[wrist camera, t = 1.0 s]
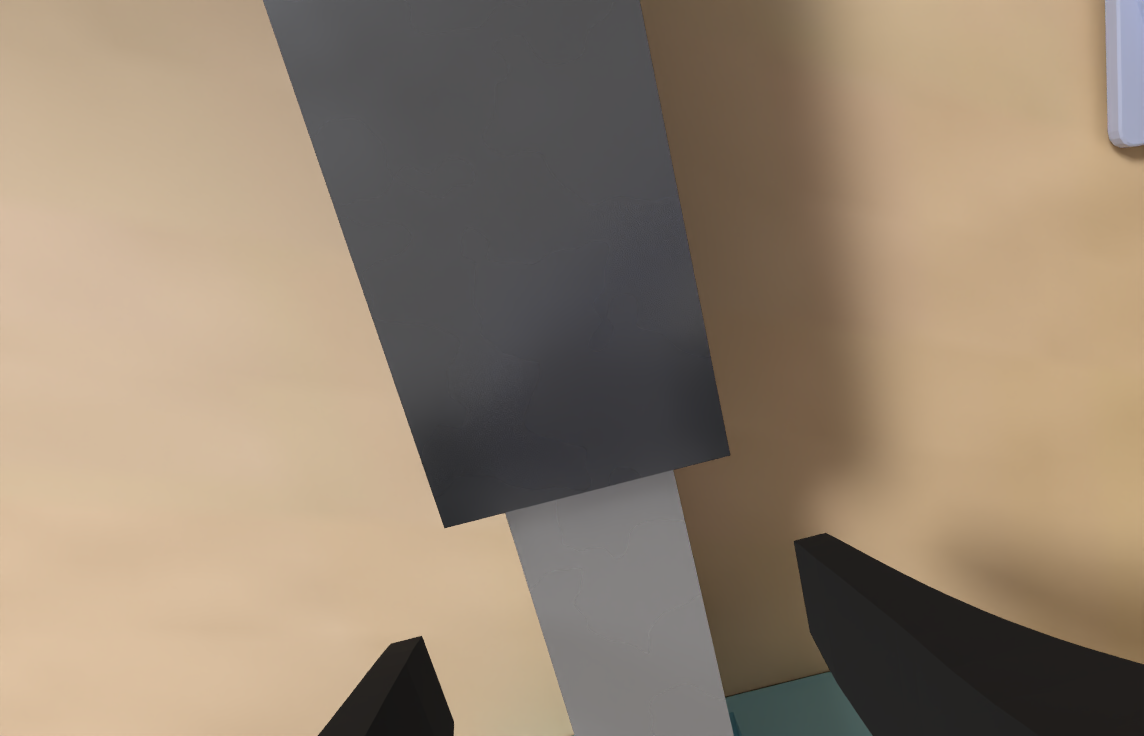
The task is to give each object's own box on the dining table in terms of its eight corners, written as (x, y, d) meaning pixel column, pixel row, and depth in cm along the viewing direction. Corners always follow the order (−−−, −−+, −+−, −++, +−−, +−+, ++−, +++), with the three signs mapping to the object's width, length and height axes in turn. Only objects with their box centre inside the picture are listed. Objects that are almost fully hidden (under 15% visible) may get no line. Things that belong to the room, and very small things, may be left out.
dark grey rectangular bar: (539, -221, 13) (538, -507, 8) (669, 376, 17) (730, 455, 12) (292, -154, 14) (128, -392, 8) (474, 426, 17) (444, 528, 12)
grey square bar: (553, 24, 14) (558, -36, 10) (705, 674, 18) (744, 783, 15) (398, 66, 14) (351, 19, 10) (589, 703, 18) (600, 818, 15)
